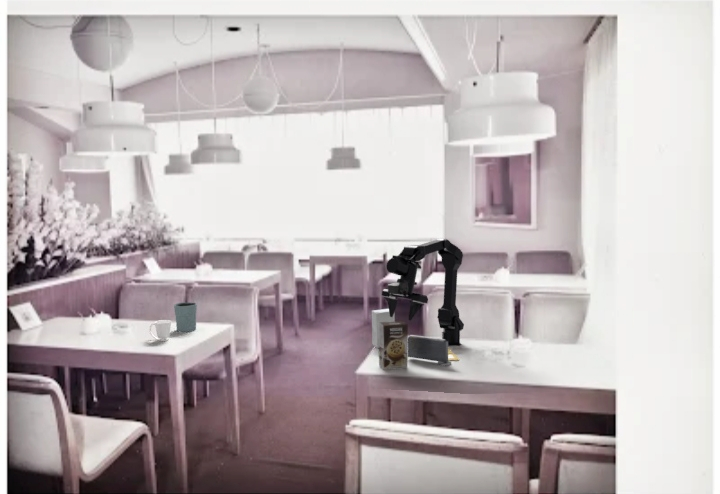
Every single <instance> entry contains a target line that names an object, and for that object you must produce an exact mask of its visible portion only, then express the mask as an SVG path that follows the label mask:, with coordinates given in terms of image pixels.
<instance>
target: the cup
mask: <svg viewBox="0 0 720 494" xmlns="http://www.w3.org/2000/svg"><path fill="white" fill-rule="evenodd" d="M153 325H154V326H155V332H156V335H157V336H155V335H154V333H153V332H152V327H153ZM171 326H172V320H169V319H160V320H156V321H155V322H153V323H151V325H150V326H149V329H148V330H149V334H150V336H151V337H152V338H154V339H156V340H158V342H166V341H169V337H170V334H171Z"/></svg>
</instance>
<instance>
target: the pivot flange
mask: <svg viewBox="0 0 720 494" xmlns="http://www.w3.org/2000/svg"><path fill="white" fill-rule="evenodd" d="M437 365H438V366H440V367H449V366H452V361H448V362H439V361H437Z"/></svg>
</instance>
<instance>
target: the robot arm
mask: <svg viewBox="0 0 720 494" xmlns="http://www.w3.org/2000/svg"><path fill="white" fill-rule="evenodd" d="M435 252H437V254H438V255H439V256H440V257H441V264H442V266H443V268H444V283H443V285H444V287H443V304H442V306H441V307H439V308H437V309H438V310H437V322H438V324H439V325H438V326H439V328H440V329H443V331H442V332H441V339H445V340H446V341H448V346H458V345H459V346H460V345H461V344H462V343H461V342H460V341H461V338H460V337H461V331H462V330H464V326H465V324H464V322H463V320H462V319H461V318H460V311H459V309H458V307H457V305H456V303H457V287H458V285H457V283H458V270H459V268H460V267H461V265H462V263H463V257H464V253H463V251H462V249H460V248H459V247H458V246H457V245H456V244H453V243H452V242H451V241H450V239H447V238H437V239H435V240H432V241H427V242H424V243H422V244H421V243H420V244H406V245H405V246H404V247H403V249H402V250H401V251H400V253H399V254H398V255H397V254H393V255H392V257H391V258H389V260H387V263H386V271H387V272H388V273H390V274H393V275H395V276H399V277H400V278H397V280H396V282H393V283H388V284H387V289H386V288H384V289H383V290H382V292H381V297H383V299H385V300H386V302H387V306H388V309H389V314H390V317H393V314H394V312H395V313H396V309H397V305H398V304H399V303H398V302H399V298H400V299H406V300H409V302H408V303H409V305H410V306H409V307H410V308H409V313H408V321H412V319H413V318H414V317H415V316H416V314H417V312H418V311H419V310H420V309H421V308H422V307H423V306H425V304H428V303H429V298H428V296H427V295H425V294H422V293H416V292H414V288H415V286H418V285H417V284H418V282H417V281H416V277H417V274H418V269H419V270H420V269H422V266H421V265H420V263H419V262H420V261H422V260H424V259H425V258H426V256H428V255H429V254H433V253H435Z"/></svg>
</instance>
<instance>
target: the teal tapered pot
mask: <svg viewBox="0 0 720 494" xmlns="http://www.w3.org/2000/svg"><path fill="white" fill-rule="evenodd" d="M197 305H198V303H197V302H188V301H187V302H179V303H175V304H173V307H174V315H175V321H176V323H175V325H176V326H175V327H176V331H177V332H179V333H181V332H182V333H184V332H185V333H187V332H193V331H196V330H197V309H198V308H197V307H198V306H197Z"/></svg>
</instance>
